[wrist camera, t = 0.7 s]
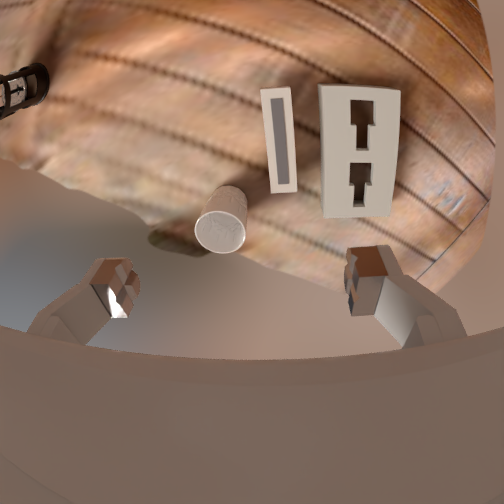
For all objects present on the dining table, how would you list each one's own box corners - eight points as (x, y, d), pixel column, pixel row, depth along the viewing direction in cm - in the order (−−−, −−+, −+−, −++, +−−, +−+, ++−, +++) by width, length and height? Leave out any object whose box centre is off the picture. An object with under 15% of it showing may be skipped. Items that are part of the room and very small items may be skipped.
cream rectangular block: (261, 86, 37) (260, 89, 33) (288, 84, 37) (290, 87, 32) (271, 178, 47) (271, 193, 43) (294, 176, 47) (297, 192, 42)
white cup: (248, 180, 48) (243, 209, 40) (252, 219, 53) (248, 253, 45) (204, 183, 49) (190, 212, 41) (211, 220, 53) (200, 254, 46)
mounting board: (317, 83, 36) (321, 85, 33) (390, 87, 35) (400, 90, 31) (320, 206, 50) (324, 218, 46) (382, 204, 48) (389, 216, 45)
